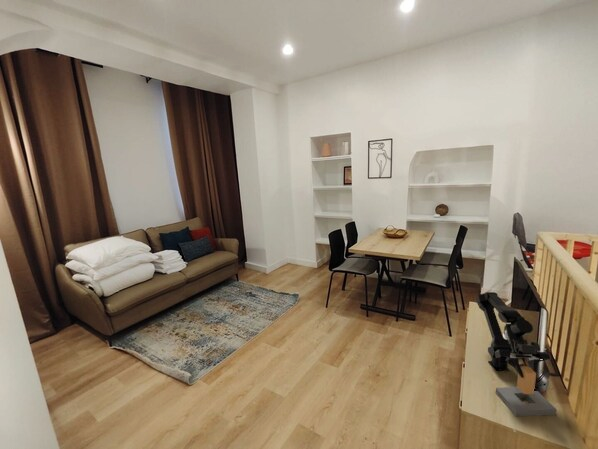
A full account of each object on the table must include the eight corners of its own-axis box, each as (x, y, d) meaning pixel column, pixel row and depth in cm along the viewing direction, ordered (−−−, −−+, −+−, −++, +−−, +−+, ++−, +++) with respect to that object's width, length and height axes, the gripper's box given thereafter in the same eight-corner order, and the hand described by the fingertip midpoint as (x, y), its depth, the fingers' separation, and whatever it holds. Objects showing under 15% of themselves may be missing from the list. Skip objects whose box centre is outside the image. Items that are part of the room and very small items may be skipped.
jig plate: (495, 392, 124) (496, 387, 123) (532, 391, 123) (532, 386, 123) (515, 416, 112) (515, 410, 112) (555, 414, 111) (556, 409, 111)
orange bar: (516, 386, 118) (518, 366, 116) (526, 386, 118) (528, 366, 116) (523, 394, 115) (526, 373, 113) (533, 393, 114) (536, 373, 112)
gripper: (499, 333, 117) (511, 374, 109) (550, 335, 114) (567, 378, 105) (490, 338, 127) (500, 376, 118) (536, 340, 123) (551, 380, 114)
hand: (528, 378), depth 114 cm, fingers closed on orange bar, 4 cm apart
